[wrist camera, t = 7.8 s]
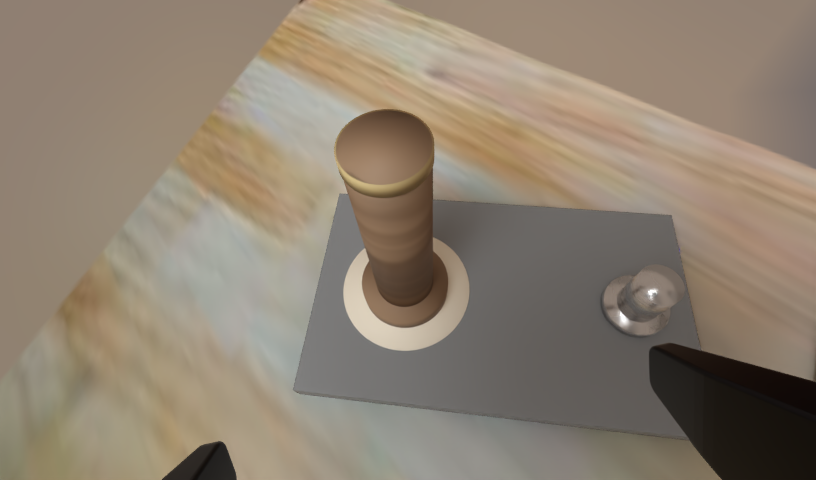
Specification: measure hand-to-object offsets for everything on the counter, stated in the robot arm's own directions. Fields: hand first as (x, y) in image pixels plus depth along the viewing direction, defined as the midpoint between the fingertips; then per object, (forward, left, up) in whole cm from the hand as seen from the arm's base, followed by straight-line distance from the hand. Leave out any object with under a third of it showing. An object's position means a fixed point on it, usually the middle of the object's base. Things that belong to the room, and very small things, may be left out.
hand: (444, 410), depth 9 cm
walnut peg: (+7, +2, -12) cm, 14 cm away
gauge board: (+7, -3, -13) cm, 16 cm away
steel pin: (+7, -10, -12) cm, 17 cm away
